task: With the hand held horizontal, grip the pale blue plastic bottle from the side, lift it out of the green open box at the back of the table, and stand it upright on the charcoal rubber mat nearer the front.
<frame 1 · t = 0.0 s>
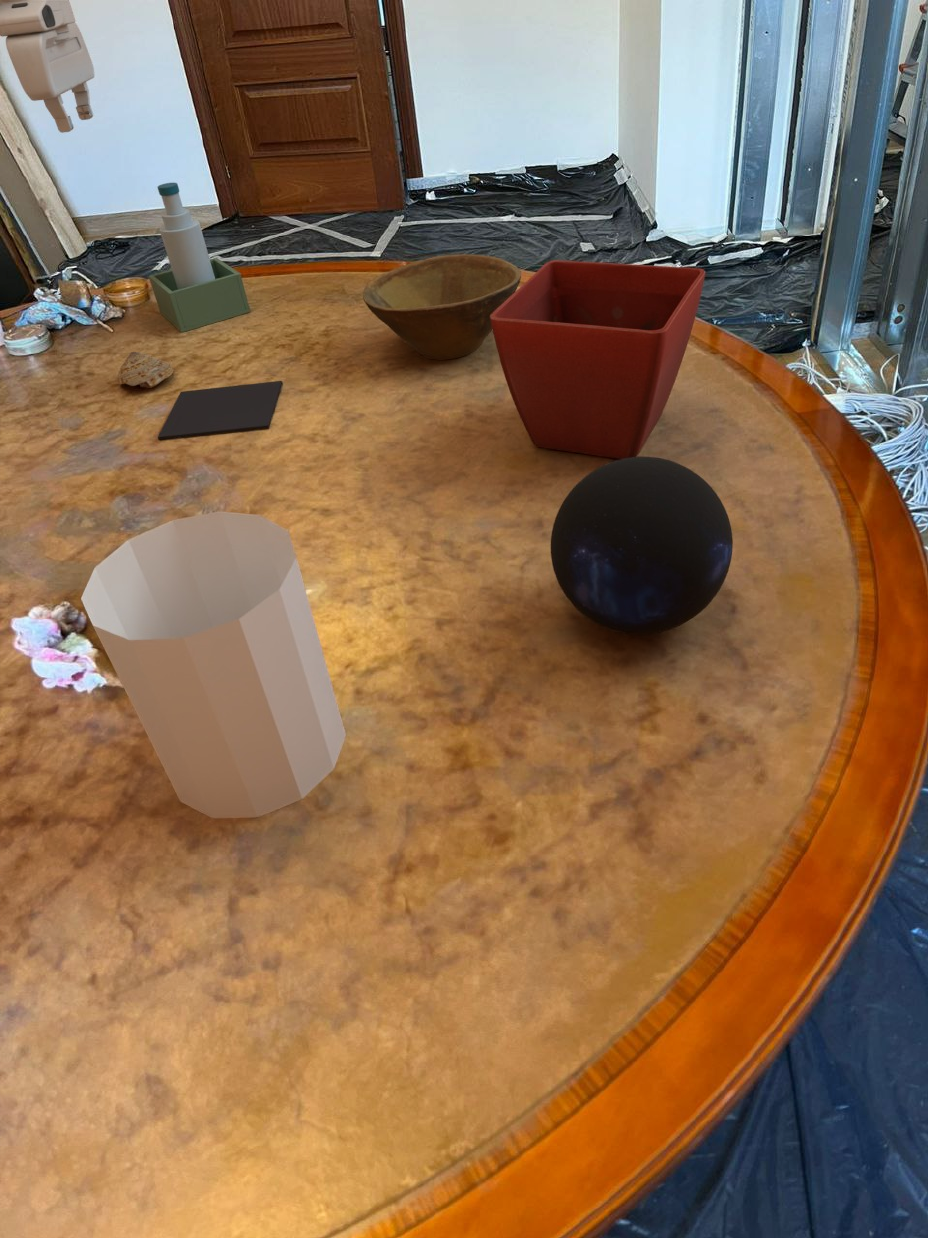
hand: (77, 124, 127), 31 cm above the table, tool pointing down, fingers open, 8 cm apart
green open box: (205, 312, 151), on the table
seashell: (149, 383, 130), on the table
bowl: (449, 347, 129), on the table
flower pot: (599, 431, 104), on the table
container: (259, 748, 70), on the table
bottle: (204, 309, 151), point 1 cm above the table, touching green open box
mat: (223, 410, 119), on the table
decorative sphere: (636, 615, 78), on the table
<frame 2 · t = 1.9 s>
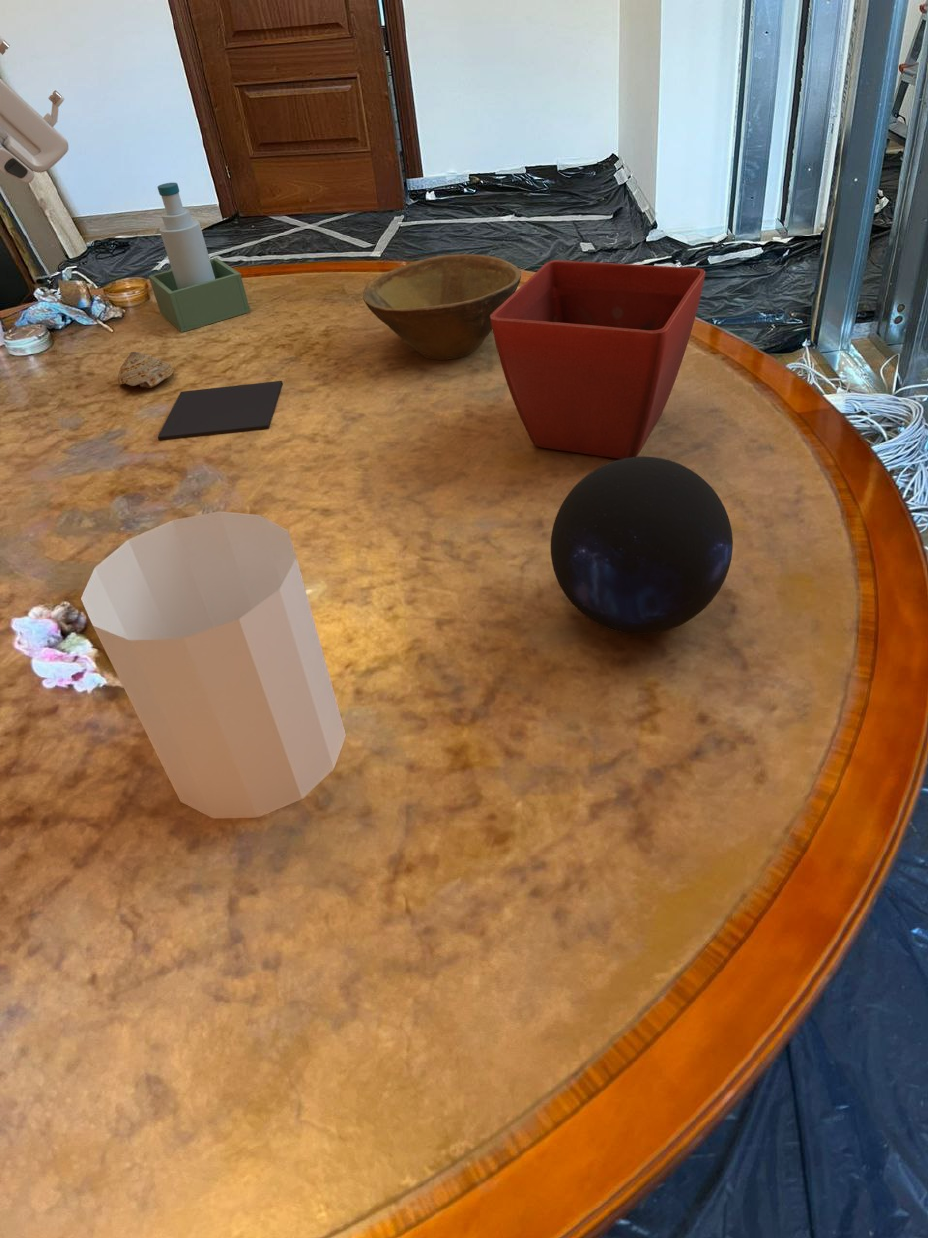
hand: (33, 68, 133), 38 cm above the table, tool pointing upward, fingers open, 8 cm apart
nothing on the table moved.
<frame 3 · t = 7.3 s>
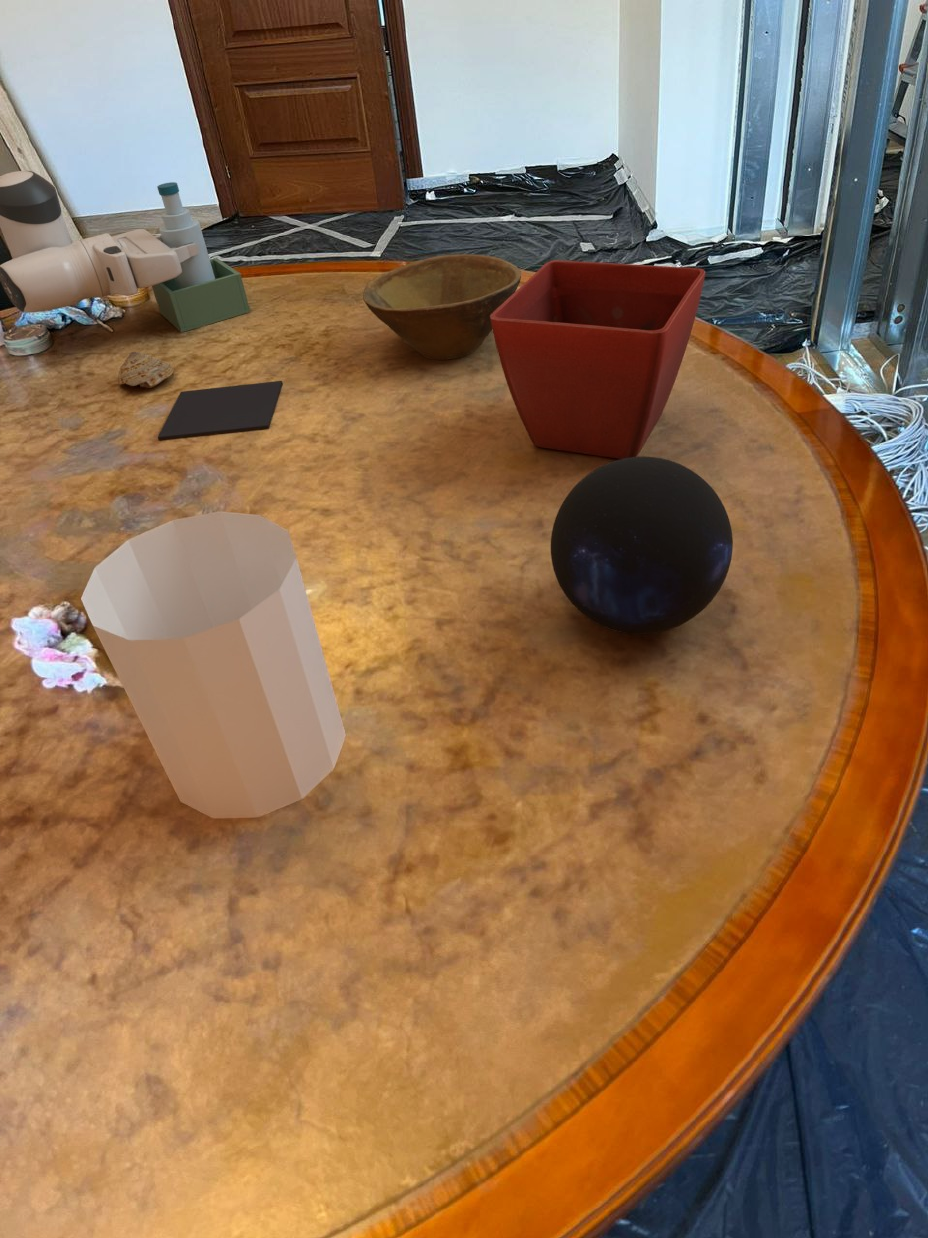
hand: (189, 242, 144), 12 cm above the table, tool horizontal, fingers closed on bottle, 6 cm apart
bottle: (204, 309, 151), point 1 cm above the table, touching green open box, gripper
everything else where it was.
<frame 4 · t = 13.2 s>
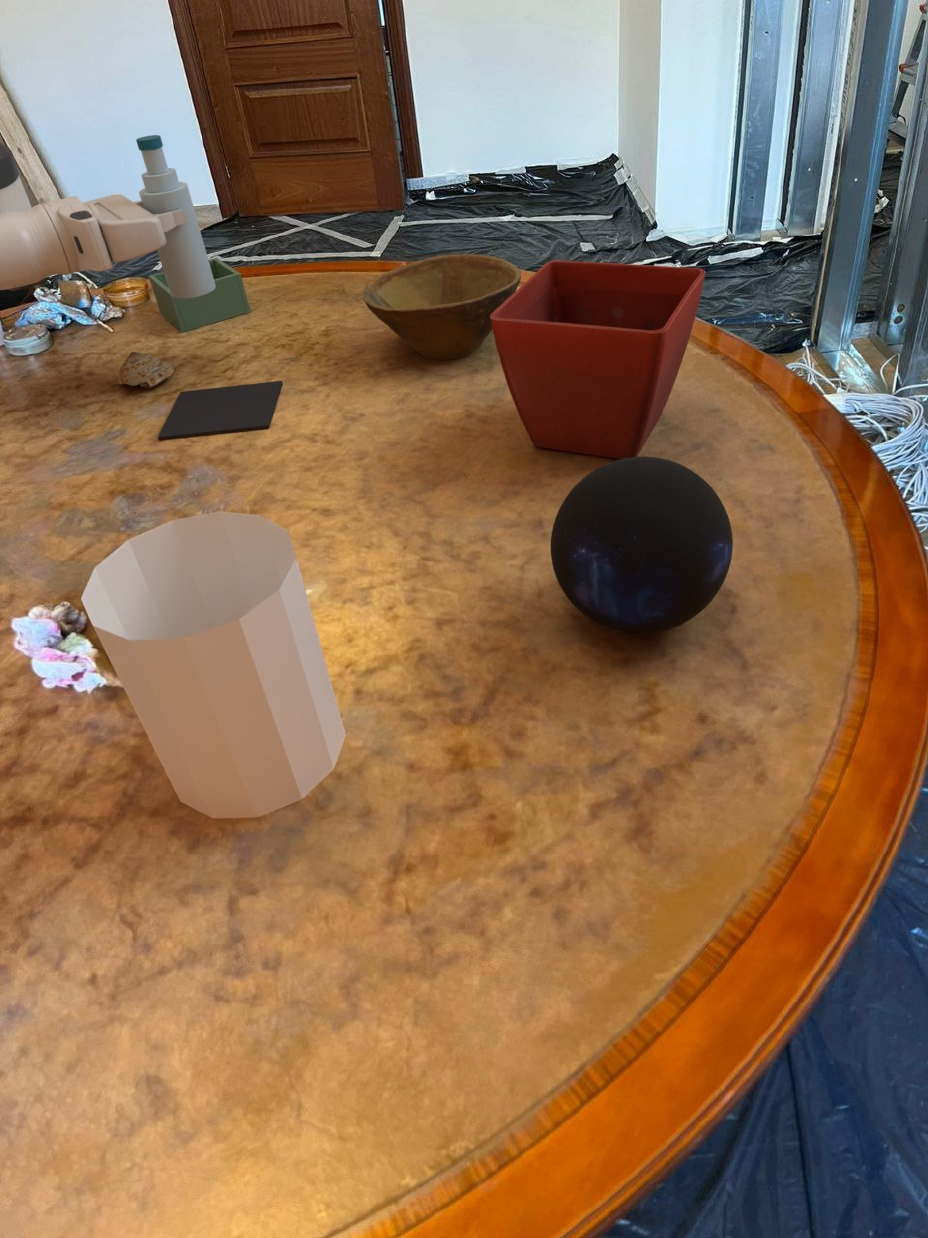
hand: (176, 209, 120), 22 cm above the table, tool horizontal, fingers closed on bottle, 6 cm apart
bottle: (193, 290, 127), point 11 cm above the table, touching gripper
everything else where it was.
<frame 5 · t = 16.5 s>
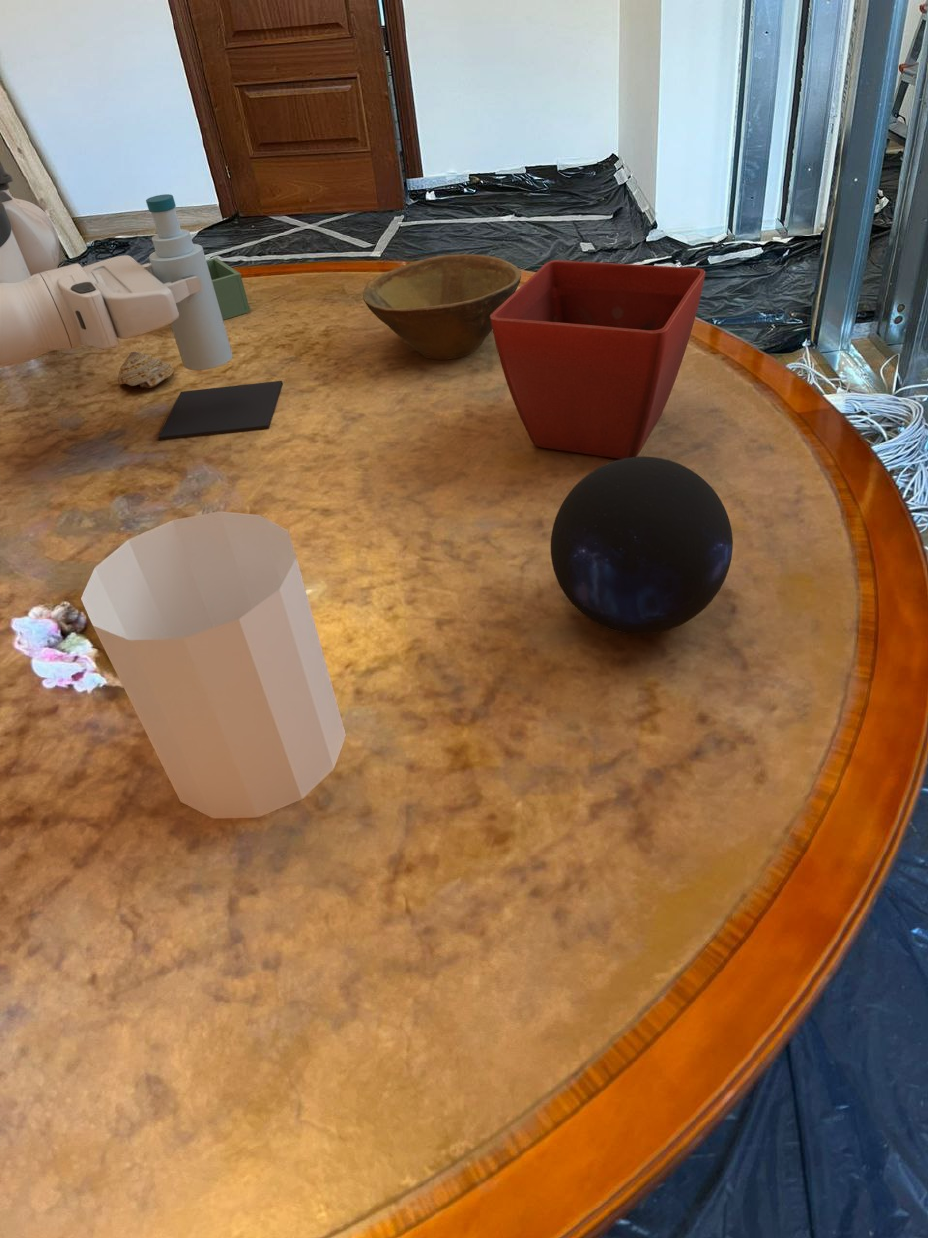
hand: (189, 274, 108), 18 cm above the table, tool horizontal, fingers closed on bottle, 6 cm apart
bottle: (208, 359, 115), point 7 cm above the table, touching gripper
everything else where it was.
when the fingers open (12 cm above the table, at t = 19.1 s): bottle stays where it is, resting on mat.
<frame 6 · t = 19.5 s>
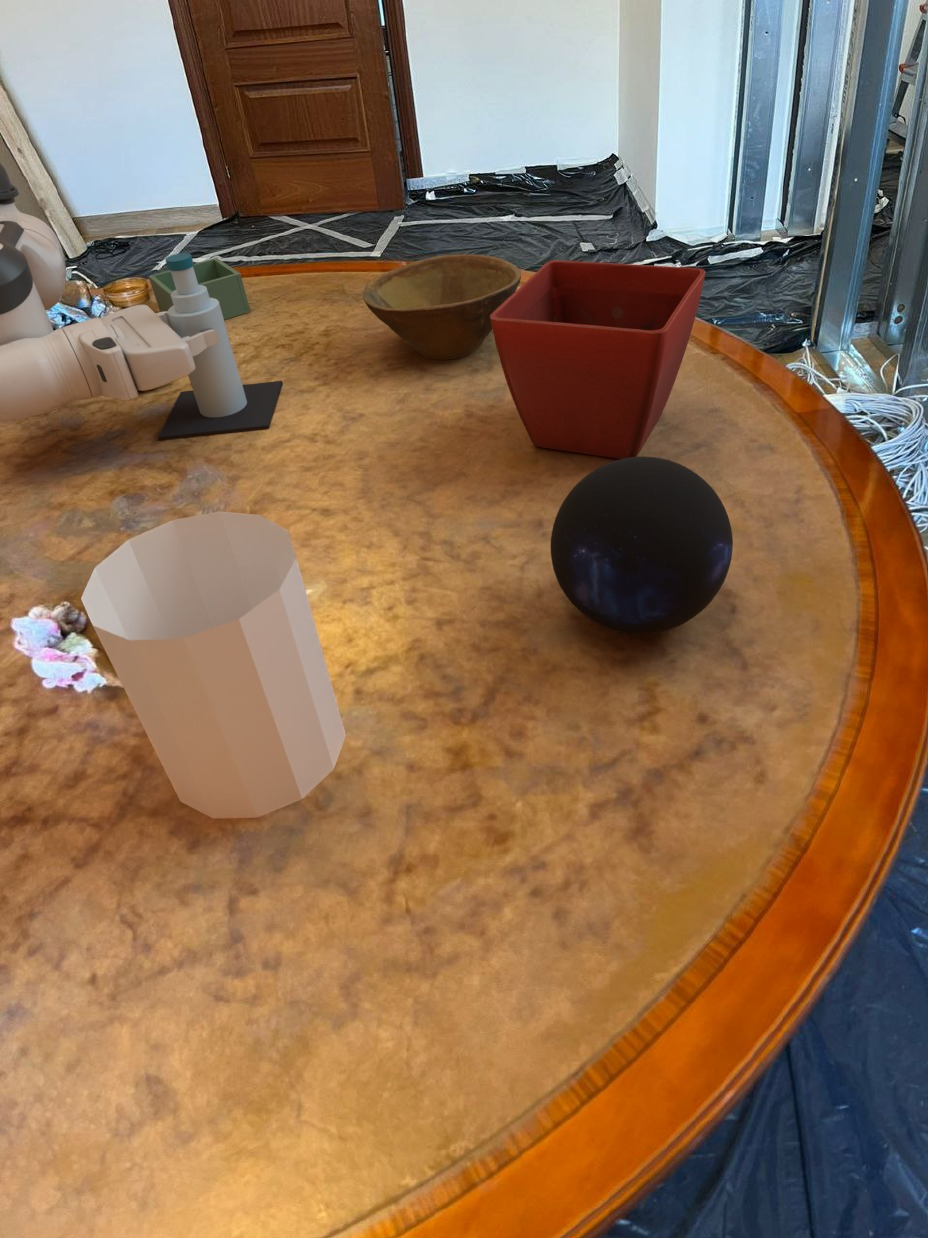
hand: (204, 324, 112), 12 cm above the table, tool horizontal, fingers open, 8 cm apart
bottle: (223, 406, 119), resting on mat
everything else where it was.
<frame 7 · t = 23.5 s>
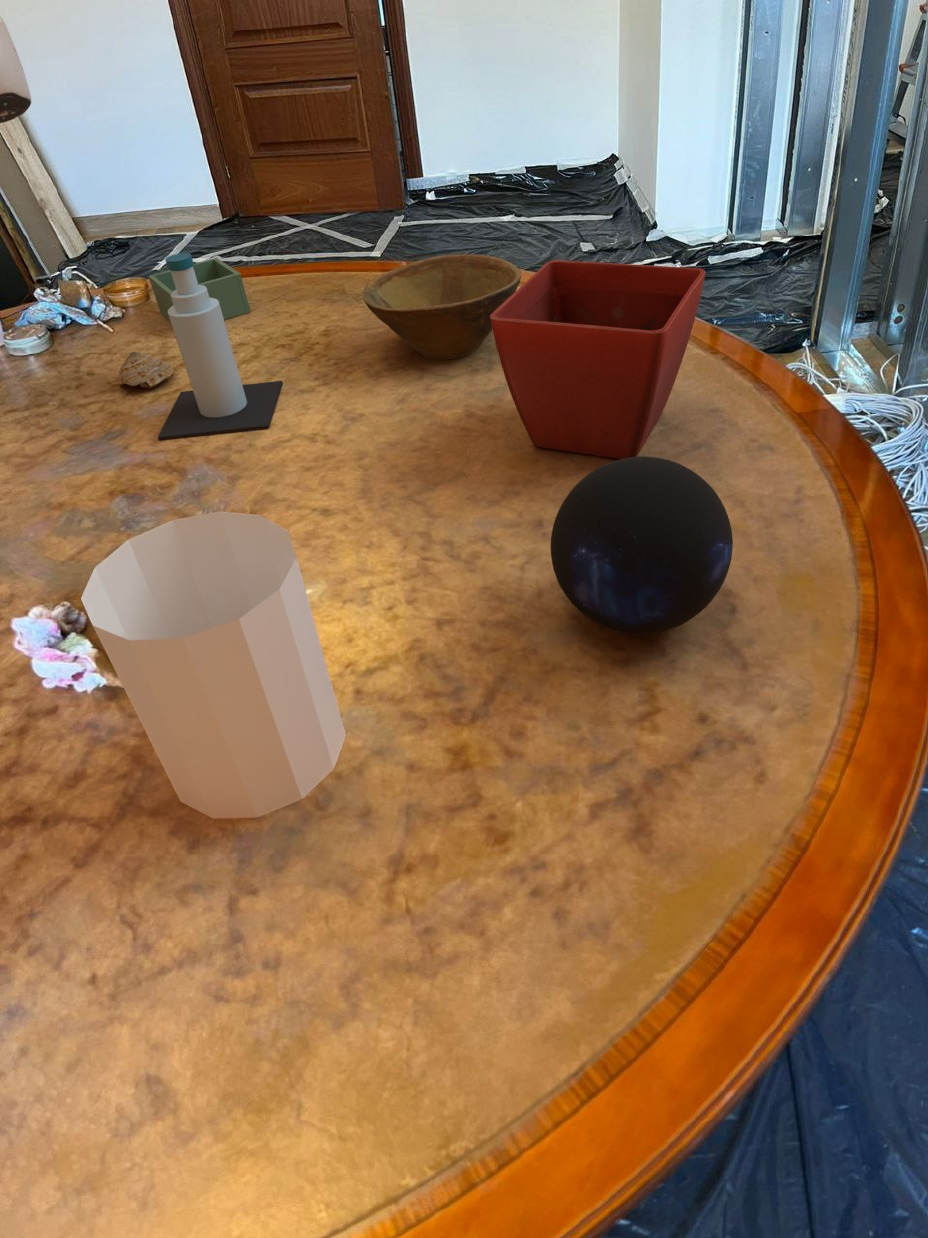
nothing on the table moved.
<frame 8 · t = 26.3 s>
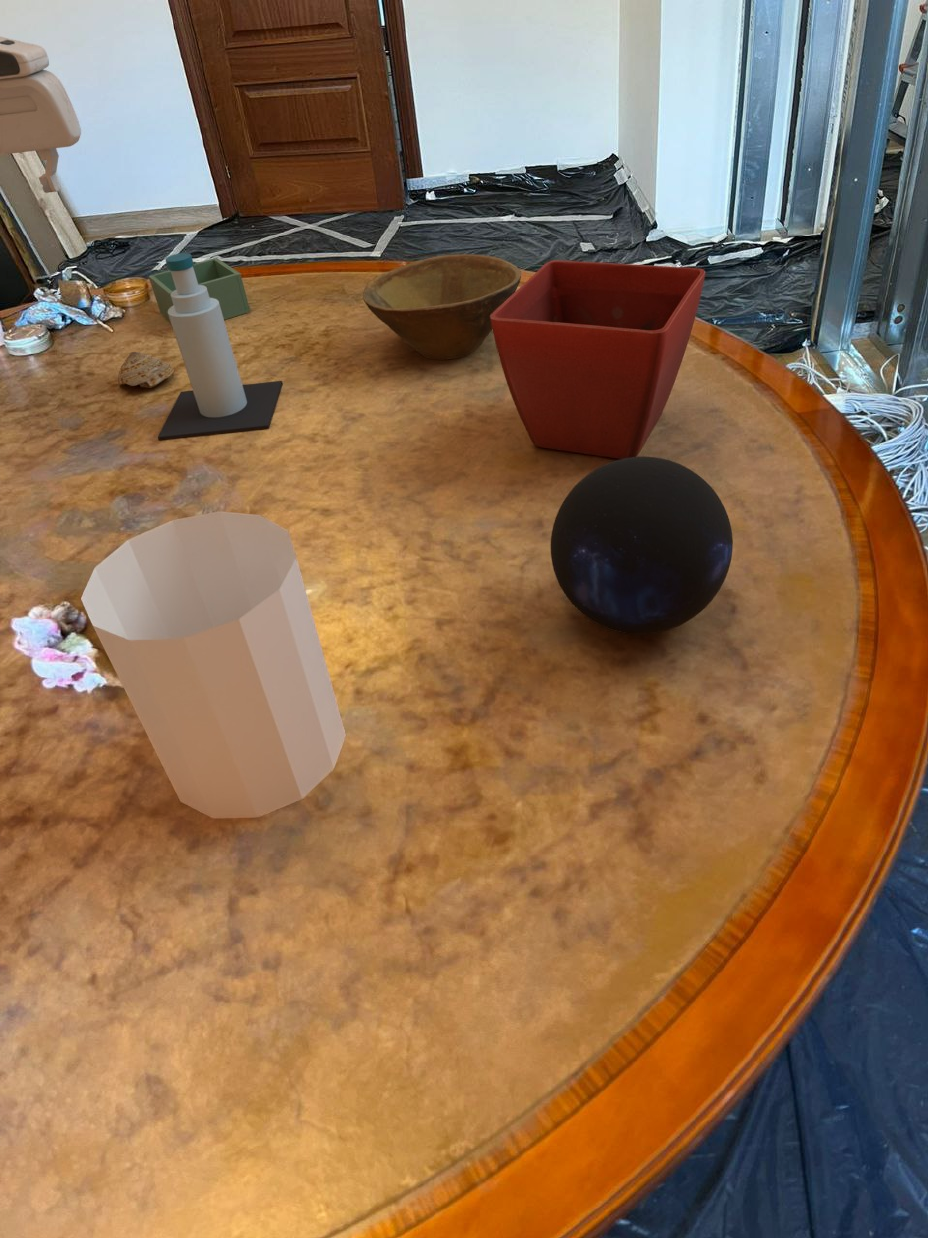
hand: (15, 195, 104), 29 cm above the table, tool pointing down, fingers open, 8 cm apart
nothing on the table moved.
at the end: bottle inside the target area on the mat (0.3 cm from its centre), point 0.5 cm above the mat's base; bottle tilted 0°; the gripper is holding nothing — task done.
